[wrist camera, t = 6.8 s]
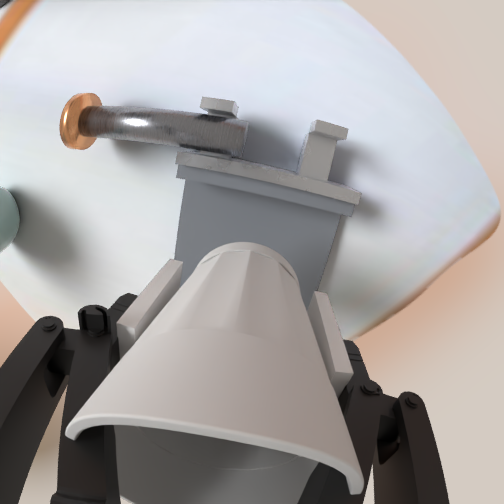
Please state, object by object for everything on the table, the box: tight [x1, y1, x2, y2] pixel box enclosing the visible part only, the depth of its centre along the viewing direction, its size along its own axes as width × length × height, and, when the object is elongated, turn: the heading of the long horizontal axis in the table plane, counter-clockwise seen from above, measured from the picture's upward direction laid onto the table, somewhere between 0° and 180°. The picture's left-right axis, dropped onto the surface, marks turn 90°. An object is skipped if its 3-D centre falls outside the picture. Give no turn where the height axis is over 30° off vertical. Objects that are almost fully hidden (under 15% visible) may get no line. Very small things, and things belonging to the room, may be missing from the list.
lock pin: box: [60, 93, 249, 158], centre depth 17 cm, size 13×4×4 cm, turn 78°
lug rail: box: [175, 97, 361, 205], centre depth 18 cm, size 4×12×4 cm, turn 78°
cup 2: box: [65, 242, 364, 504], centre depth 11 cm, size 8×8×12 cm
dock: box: [174, 164, 355, 311], centre depth 22 cm, size 12×12×3 cm
